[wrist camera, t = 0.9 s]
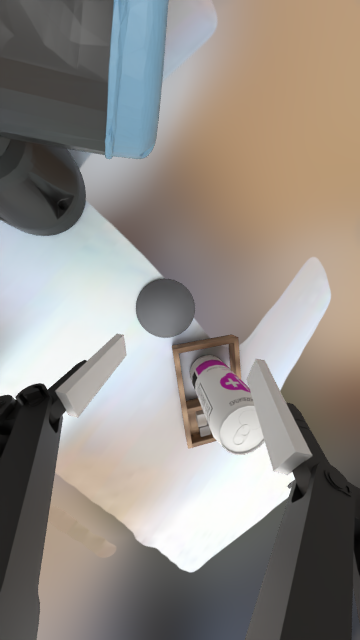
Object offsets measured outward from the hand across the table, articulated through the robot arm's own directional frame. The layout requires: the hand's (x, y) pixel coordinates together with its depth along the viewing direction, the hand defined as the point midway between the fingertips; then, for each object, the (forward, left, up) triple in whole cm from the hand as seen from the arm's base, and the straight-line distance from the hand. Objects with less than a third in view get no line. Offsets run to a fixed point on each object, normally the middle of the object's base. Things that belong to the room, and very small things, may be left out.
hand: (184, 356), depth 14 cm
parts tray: (+16, +6, -16) cm, 23 cm away
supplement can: (+12, +6, -16) cm, 21 cm away
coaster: (-4, -1, -16) cm, 16 cm away
